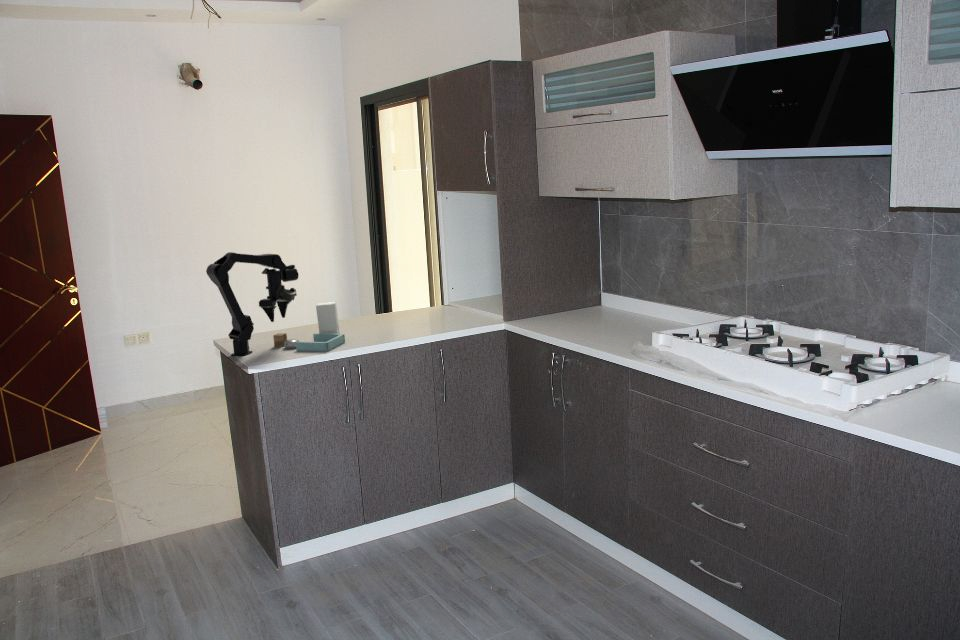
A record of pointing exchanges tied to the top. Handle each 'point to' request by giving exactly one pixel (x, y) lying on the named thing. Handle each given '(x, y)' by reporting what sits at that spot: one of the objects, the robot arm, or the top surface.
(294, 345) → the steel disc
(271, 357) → the top surface
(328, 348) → the parts bay
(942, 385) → the top surface
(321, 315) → the skincare box
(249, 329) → the robot arm
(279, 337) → the walnut block
